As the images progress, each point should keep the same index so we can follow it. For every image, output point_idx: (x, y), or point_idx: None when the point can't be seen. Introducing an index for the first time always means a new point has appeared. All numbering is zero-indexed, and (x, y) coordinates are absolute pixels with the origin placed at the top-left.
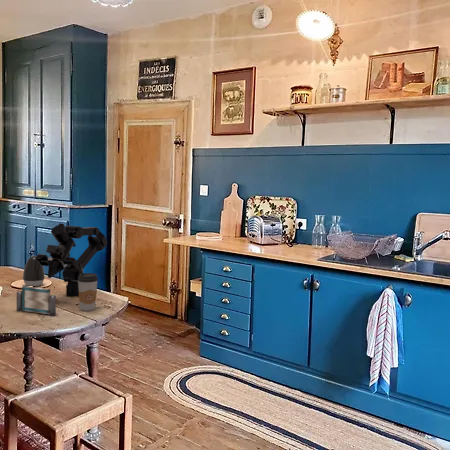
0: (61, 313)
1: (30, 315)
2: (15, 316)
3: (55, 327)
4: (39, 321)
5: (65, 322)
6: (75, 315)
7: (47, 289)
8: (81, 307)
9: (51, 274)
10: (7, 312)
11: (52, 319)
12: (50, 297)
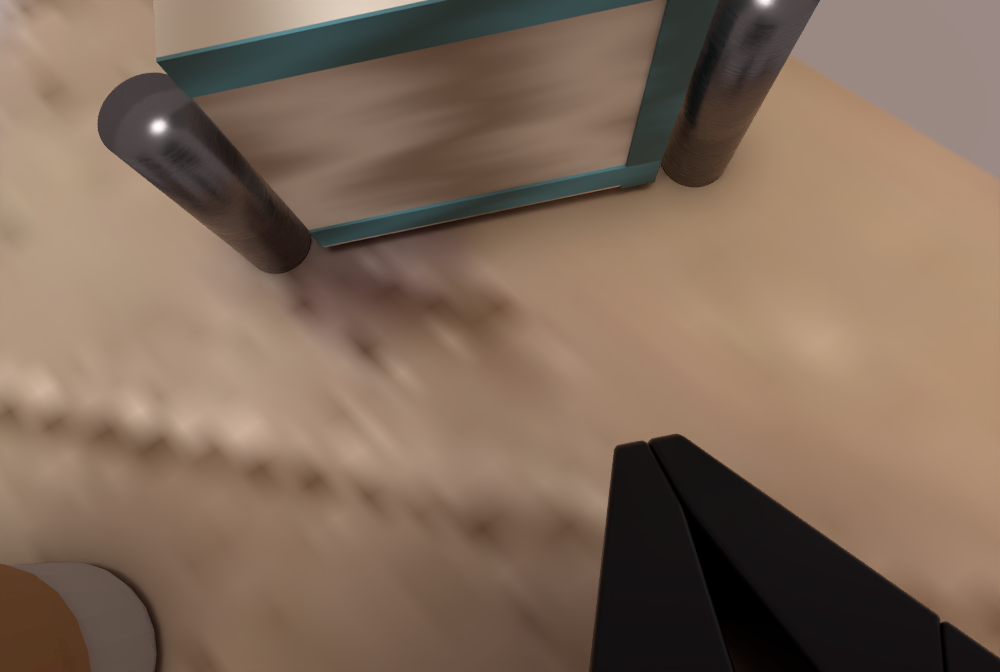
0: (237, 339)
1: None
2: None
3: (31, 23)
4: None
5: (27, 157)
6: (58, 372)
7: (185, 16)
8: (65, 563)
9: (607, 537)
10: None
11: None
12: (160, 79)
